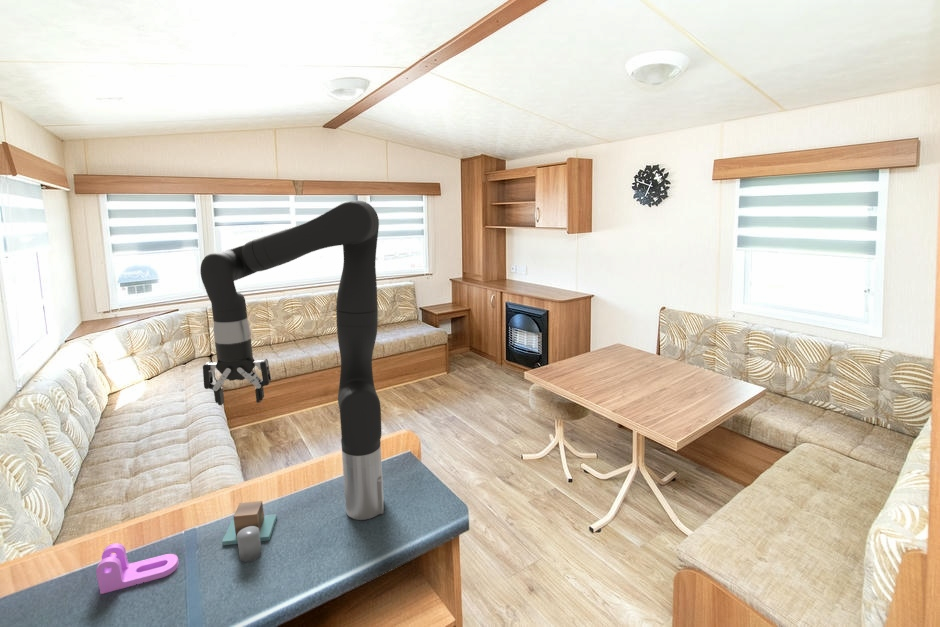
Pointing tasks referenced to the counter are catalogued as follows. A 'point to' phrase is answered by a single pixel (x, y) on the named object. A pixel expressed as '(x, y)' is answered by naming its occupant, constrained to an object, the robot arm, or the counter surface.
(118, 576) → the bracket
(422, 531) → the counter surface
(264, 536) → the teal mat
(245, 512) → the walnut block
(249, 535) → the grey rounded part
